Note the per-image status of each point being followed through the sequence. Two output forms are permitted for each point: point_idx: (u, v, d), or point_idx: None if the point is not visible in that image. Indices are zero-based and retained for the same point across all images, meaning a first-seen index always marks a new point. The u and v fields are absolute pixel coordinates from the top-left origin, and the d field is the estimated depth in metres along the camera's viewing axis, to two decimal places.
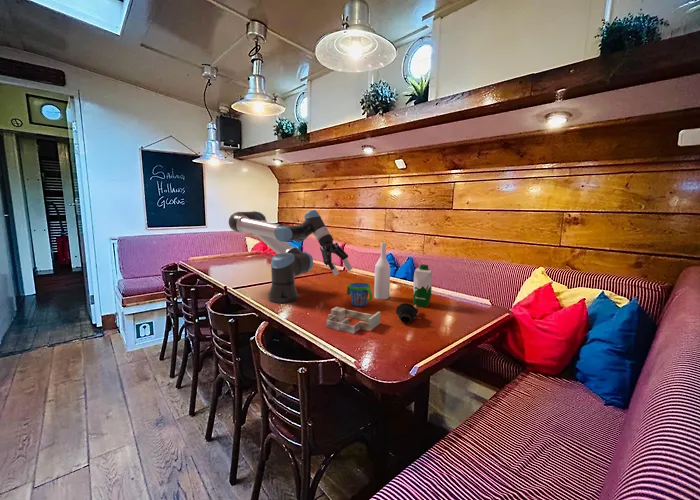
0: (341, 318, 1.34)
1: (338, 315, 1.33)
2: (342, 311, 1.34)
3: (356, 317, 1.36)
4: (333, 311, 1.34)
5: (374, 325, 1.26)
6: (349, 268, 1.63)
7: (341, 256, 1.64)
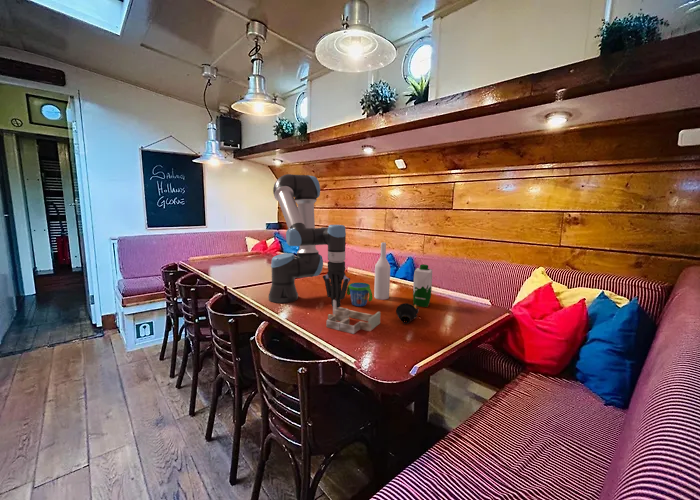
0: None
1: (342, 316, 1.32)
2: (346, 312, 1.33)
3: (356, 317, 1.36)
4: (337, 312, 1.33)
5: (374, 325, 1.26)
6: None
7: None
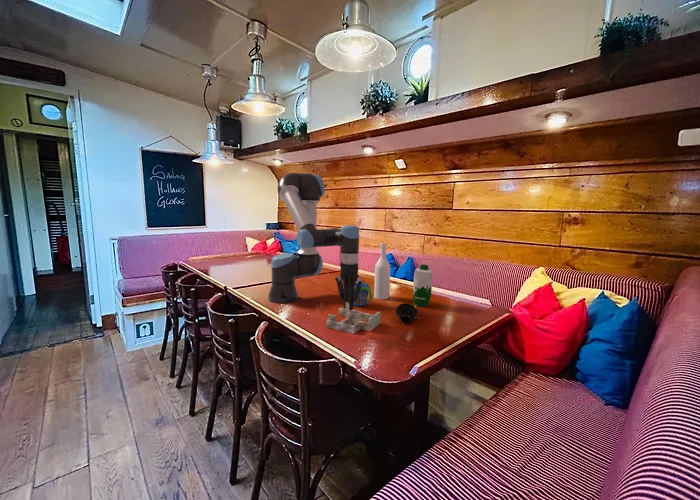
0: None
1: (355, 319, 1.28)
2: (359, 315, 1.30)
3: None
4: (350, 314, 1.29)
5: (374, 325, 1.26)
6: None
7: None
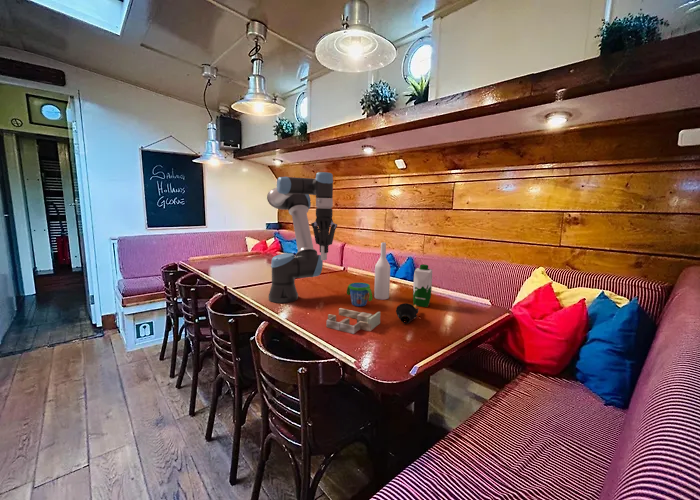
0: None
1: (365, 321, 1.26)
2: (369, 317, 1.27)
3: (356, 317, 1.36)
4: (360, 317, 1.27)
5: (374, 325, 1.26)
6: None
7: None
